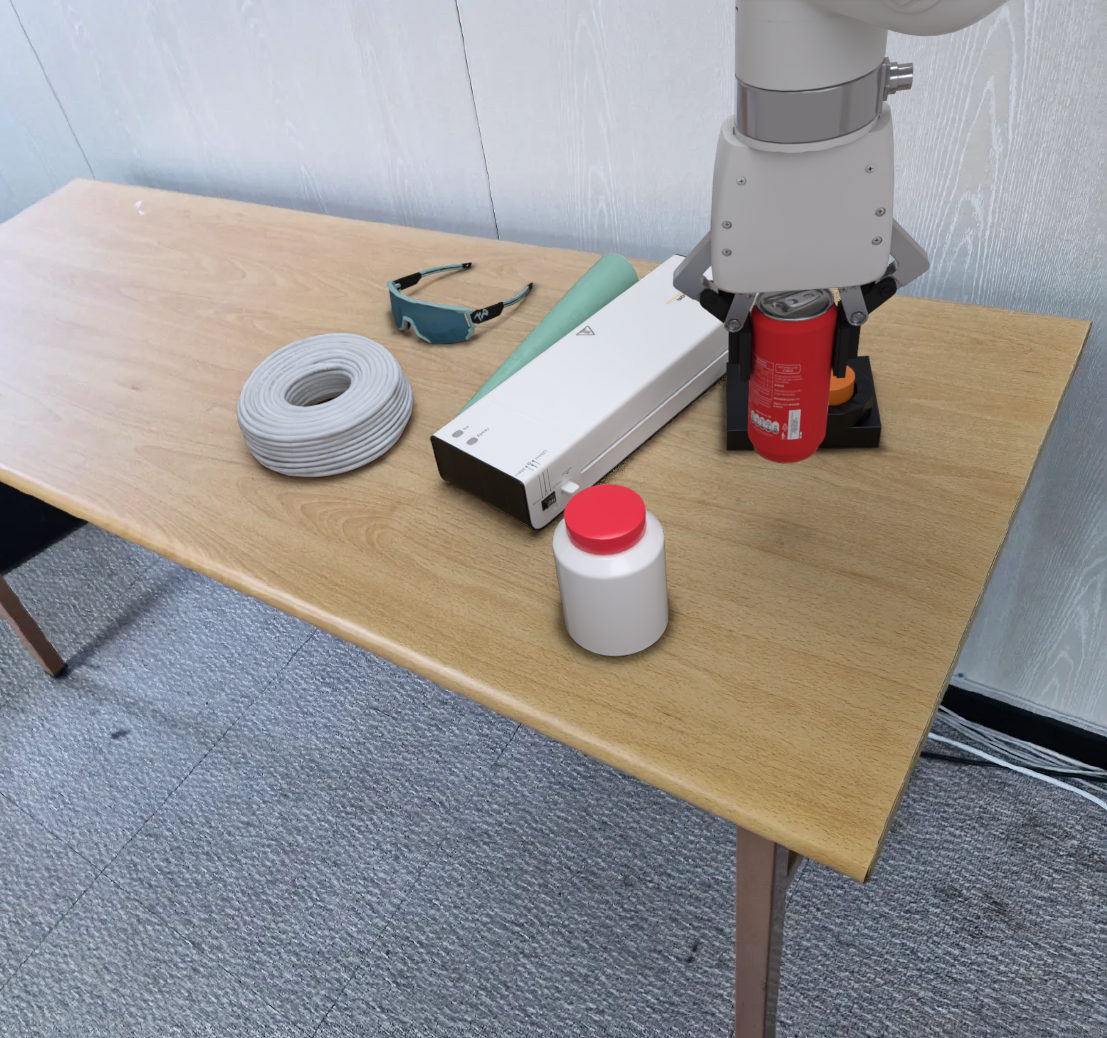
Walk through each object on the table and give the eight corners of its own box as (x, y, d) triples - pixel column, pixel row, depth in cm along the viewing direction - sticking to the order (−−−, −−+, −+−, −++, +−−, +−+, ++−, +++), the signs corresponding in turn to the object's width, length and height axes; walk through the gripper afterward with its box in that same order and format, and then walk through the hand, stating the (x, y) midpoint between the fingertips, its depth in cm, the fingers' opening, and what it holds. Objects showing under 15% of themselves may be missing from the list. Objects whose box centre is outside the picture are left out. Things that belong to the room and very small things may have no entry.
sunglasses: (368, 322, 112) (361, 282, 109) (461, 276, 119) (457, 237, 116) (452, 358, 103) (447, 315, 100) (547, 306, 110) (546, 264, 107)
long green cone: (419, 383, 92) (595, 248, 103) (431, 428, 95) (599, 293, 106) (461, 400, 88) (638, 259, 99) (471, 447, 92) (641, 305, 103)
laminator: (675, 305, 102) (673, 252, 98) (781, 339, 94) (783, 283, 90) (442, 487, 89) (428, 434, 84) (542, 544, 81) (532, 489, 77)
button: (850, 377, 82) (852, 359, 81) (855, 406, 80) (857, 389, 78) (800, 379, 83) (801, 362, 82) (802, 407, 81) (803, 391, 80)
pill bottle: (689, 628, 71) (685, 520, 64) (596, 672, 70) (581, 568, 63) (634, 564, 77) (624, 458, 70) (546, 604, 76) (528, 500, 69)
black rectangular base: (866, 375, 88) (871, 338, 85) (879, 451, 80) (884, 412, 78) (726, 381, 91) (726, 345, 88) (726, 453, 84) (726, 417, 81)
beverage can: (733, 436, 72) (735, 294, 64) (796, 412, 72) (806, 268, 64) (773, 476, 68) (780, 331, 60) (839, 451, 69) (856, 303, 61)
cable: (309, 366, 108) (293, 319, 104) (447, 385, 100) (435, 336, 96) (217, 467, 98) (196, 420, 94) (362, 498, 90) (346, 447, 86)
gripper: (968, 50, 54) (923, 329, 66) (650, 91, 59) (662, 343, 71) (994, 106, 49) (940, 397, 61) (643, 145, 54) (657, 406, 66)
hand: (790, 365), depth 66 cm, fingers closed on beverage can, 5 cm apart
